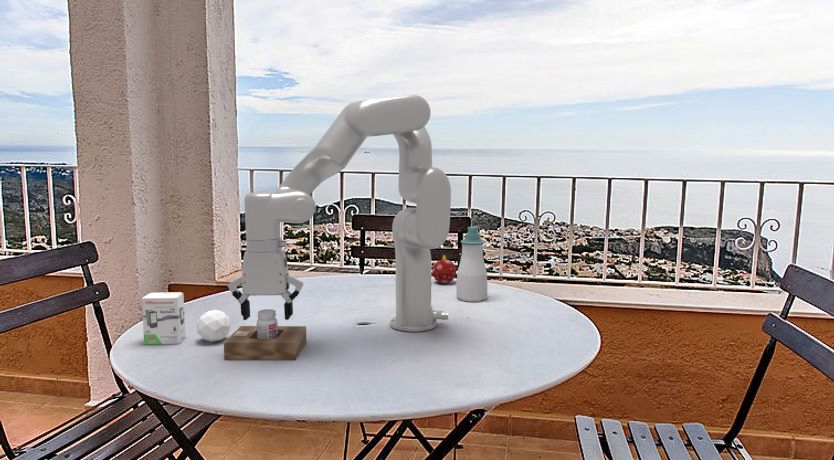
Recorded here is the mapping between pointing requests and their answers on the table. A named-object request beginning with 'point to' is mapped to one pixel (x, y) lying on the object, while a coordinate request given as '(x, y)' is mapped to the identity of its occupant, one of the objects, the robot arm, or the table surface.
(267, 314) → the pill bottle
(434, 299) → the table surface
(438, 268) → the christmas ornament
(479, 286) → the soap bottle
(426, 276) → the robot arm
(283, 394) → the table surface
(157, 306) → the ink box
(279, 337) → the brown flat recessed slab
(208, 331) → the geometric ball
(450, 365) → the table surface
